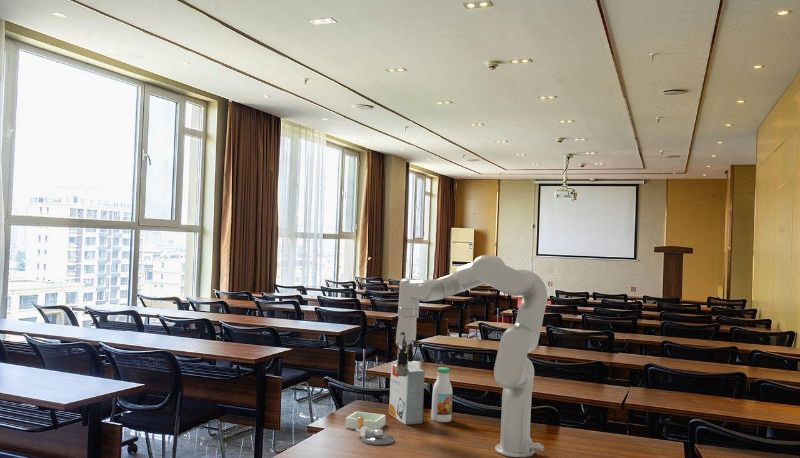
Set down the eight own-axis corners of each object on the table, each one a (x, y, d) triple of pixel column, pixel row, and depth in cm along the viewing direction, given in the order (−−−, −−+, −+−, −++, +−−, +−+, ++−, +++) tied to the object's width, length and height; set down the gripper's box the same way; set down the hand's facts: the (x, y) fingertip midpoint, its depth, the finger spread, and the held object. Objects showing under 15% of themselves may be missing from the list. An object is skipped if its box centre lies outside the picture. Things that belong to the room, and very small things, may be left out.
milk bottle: (429, 421, 254) (431, 368, 255) (434, 416, 261) (436, 365, 262) (448, 423, 252) (451, 370, 252) (453, 419, 259) (455, 367, 260)
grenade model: (412, 377, 237) (414, 335, 238) (393, 375, 239) (395, 333, 239) (415, 374, 243) (418, 333, 244) (397, 372, 245) (399, 331, 245)
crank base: (398, 438, 229) (398, 426, 229) (387, 447, 218) (388, 434, 218) (366, 434, 232) (367, 422, 232) (355, 442, 222) (355, 430, 222)
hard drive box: (388, 414, 261) (390, 363, 262) (405, 413, 264) (407, 363, 265) (405, 425, 247) (407, 371, 248) (423, 423, 250) (425, 370, 251)
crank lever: (384, 436, 226) (385, 421, 226) (379, 438, 223) (379, 423, 223) (359, 430, 231) (360, 416, 231) (354, 432, 228) (355, 418, 229)
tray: (385, 424, 246) (385, 415, 246) (375, 431, 236) (376, 421, 236) (355, 421, 249) (356, 411, 249) (345, 427, 239) (345, 417, 239)
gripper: (405, 310, 251) (402, 358, 250) (390, 313, 234) (387, 365, 234) (424, 311, 248) (422, 360, 248) (411, 315, 232) (408, 367, 232)
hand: (405, 362), depth 241 cm, fingers closed on grenade model, 5 cm apart
